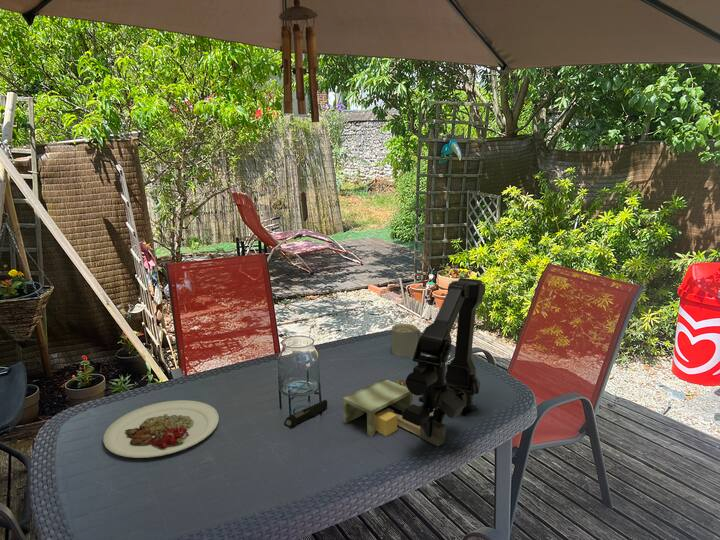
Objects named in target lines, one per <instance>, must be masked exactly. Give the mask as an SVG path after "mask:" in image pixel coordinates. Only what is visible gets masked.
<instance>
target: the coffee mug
mask: <svg viewBox="0 0 720 540" xmlns="http://www.w3.org/2000/svg"><path fill="white" fill-rule="evenodd" d="M421 335H422V331H421V329H419V328H418V327H417V326H416V325H414V324H411V323H397V324H393V325H392V327H391V354H392V355H393V356H395V357H398V358H412V357H414V354H415V350H416V347H417V343H418V340H419V337H420V336H421Z"/></svg>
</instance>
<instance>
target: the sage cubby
mask: <svg viewBox="0 0 720 540" xmlns="http://www.w3.org/2000/svg"><path fill="white" fill-rule="evenodd" d="M413 396H414V394H412V393H411V392H410V391H409V390H408V388H407V387H404V386H403V385H402V384H401V385H399V384H397V383H396V382H394V381H391V380H389V379H386V378H383V379H381V380H378V381H377V382H375V383H373V384H371V385H369V386H365V387H364V388H361V389H359V390H357V391H355V392H353V393H351V394H349V395H346V396H344V397H342V413H343V414H342V415H343V416H342V417H343V419H342V421H343V423H344V424H348V423H349V421H350V422H351V421H354V420H355V419H357V418H359V417H361V416H363V415H365V414H366V426H367V427H366V428H367V429H366V432H367V433H366V435H368V436H369V437H373V436H375V435H376V431H375V414H376V413H378V412H380V411H382V410H383V409H384V408H387V407H388V406H390V407H393V408H394V409H397V410H399V411H401V412H402V410H404V409H405V408H407V407H409V406H411V405H412V404H413ZM358 416H359V417H358ZM347 422H348V423H347Z"/></svg>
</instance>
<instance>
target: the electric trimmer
mask: <svg viewBox="0 0 720 540" xmlns="http://www.w3.org/2000/svg"><path fill="white" fill-rule="evenodd" d="M320 402H321V404H320ZM327 408H328V399H323V400H322V401H319V402H317V403H316V404H313V405H310V406H309V407H308V406H307V408H304V409H301V410H300V411H298V412H296V413H293V414H290V415H288V416H287V418H285V420H284V423H283V425H284V426H285V427H287V428H289V429H294V428H295V427H296V425H298V424H299V423H301V422H304V421H305V420H307V419H308V418H311V417H312V418H314V417H316V416H318V415H319V414H320V413H322V412H323V411H324V410H325V409H327Z"/></svg>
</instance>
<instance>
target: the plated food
mask: <svg viewBox="0 0 720 540" xmlns="http://www.w3.org/2000/svg"><path fill="white" fill-rule="evenodd" d="M219 419H220V416H219V414H218V411H217V410H216V408H214V406H212V405H209V404H207V403H206V402H205V403H204V402H202V401H197V400H186V399H184V400H183V399H182V400H181V399H179V400H169V401H168V400H167V401H161V402H156V403H152V404H148V405H144V406H143V407H142V406H141V407H139V408H136V409H134V410H132V411H129V412H128V413H126V414H123V415H122V416H121V417H119V418H117V419H116V420H115V421H114V422H112V423H111V424H110V425H109V426H108V427H107V429H106V430H105V432H104V434H103V440H102V441H103V444H104V447H105V448H106V449H107V450H108V451H109V452H110V453H113V454H114V455H117V456H121V457H125V458H131V459H132V458H135V459H144V458H147V459H148V458H154V457H162V456H166V455H170V454H174V453H177V452H180V451H184V450H186V449H188V448H191V447H192V446H195V445H197V444H199V443H200V442H201V441H203V440H205V439H206V438H208V437H209V436H210V435H211V434H212V433H213V432H214V431H215V429H216V428H217V426H218V425H219Z"/></svg>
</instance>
